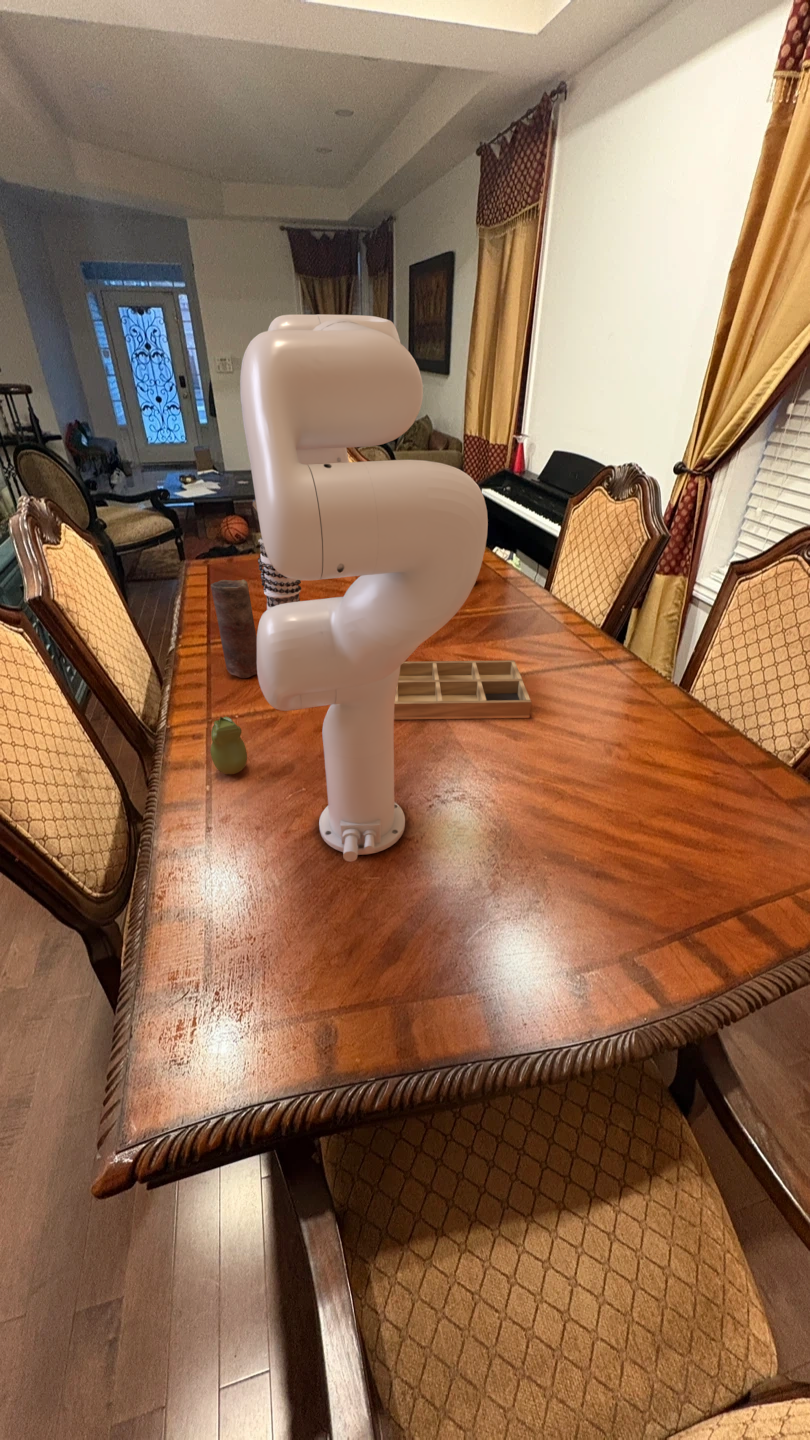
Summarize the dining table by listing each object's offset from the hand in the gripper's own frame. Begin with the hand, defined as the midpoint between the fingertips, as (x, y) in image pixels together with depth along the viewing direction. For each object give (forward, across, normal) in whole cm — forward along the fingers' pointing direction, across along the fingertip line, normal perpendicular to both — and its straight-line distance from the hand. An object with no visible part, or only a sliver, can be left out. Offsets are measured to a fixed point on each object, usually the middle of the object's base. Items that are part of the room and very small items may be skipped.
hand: (319, 556), depth 90 cm
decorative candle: (+34, -6, +47) cm, 58 cm away
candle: (+34, -16, +32) cm, 49 cm away
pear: (+34, -17, -5) cm, 38 cm away
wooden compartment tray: (+34, +26, +12) cm, 44 cm away
